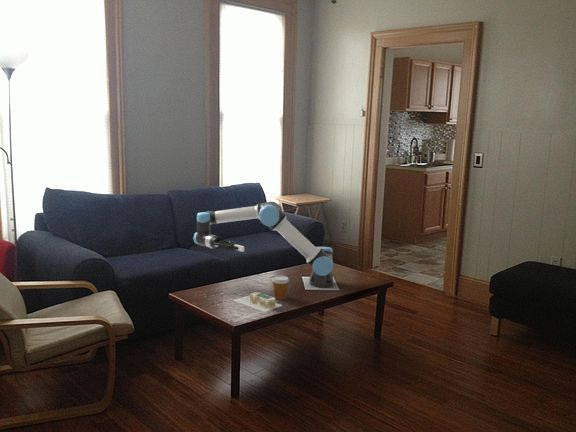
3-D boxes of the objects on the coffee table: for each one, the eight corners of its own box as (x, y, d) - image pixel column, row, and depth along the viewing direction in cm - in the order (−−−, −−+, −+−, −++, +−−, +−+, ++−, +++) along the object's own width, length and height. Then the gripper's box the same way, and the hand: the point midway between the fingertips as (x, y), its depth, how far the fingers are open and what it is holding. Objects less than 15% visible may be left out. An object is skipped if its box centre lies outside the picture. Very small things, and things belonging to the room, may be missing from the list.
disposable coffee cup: (289, 301, 293) (290, 280, 290) (272, 301, 291) (273, 280, 289) (287, 295, 302) (287, 275, 299) (270, 295, 300) (271, 275, 298)
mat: (232, 301, 290) (232, 300, 290) (251, 295, 300) (251, 294, 300) (264, 312, 274) (264, 311, 274) (282, 305, 285) (282, 305, 284)
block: (250, 293, 286) (268, 300, 277) (256, 291, 290) (275, 297, 281) (249, 302, 287) (268, 309, 278) (256, 300, 291) (275, 307, 282)
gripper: (223, 246, 309) (251, 253, 294) (205, 250, 300) (234, 258, 284) (223, 233, 308) (251, 240, 293) (205, 237, 298) (234, 244, 283)
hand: (243, 249), depth 289 cm, fingers closed
